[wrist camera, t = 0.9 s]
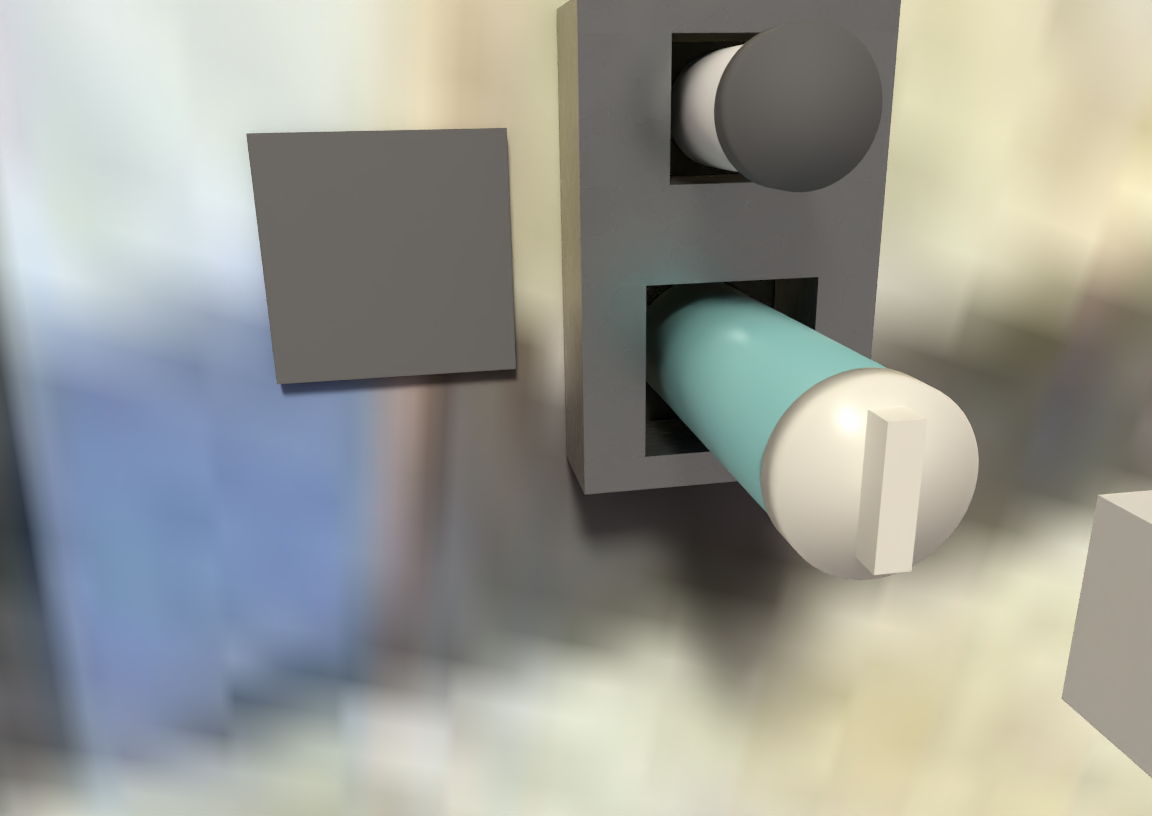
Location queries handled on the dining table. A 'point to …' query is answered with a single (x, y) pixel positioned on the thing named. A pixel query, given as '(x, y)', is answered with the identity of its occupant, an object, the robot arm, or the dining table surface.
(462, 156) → the mat
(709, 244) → the housing
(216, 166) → the dining table surface
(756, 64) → the plunger
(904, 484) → the cartridge
